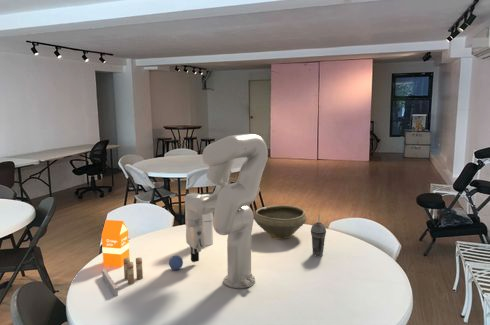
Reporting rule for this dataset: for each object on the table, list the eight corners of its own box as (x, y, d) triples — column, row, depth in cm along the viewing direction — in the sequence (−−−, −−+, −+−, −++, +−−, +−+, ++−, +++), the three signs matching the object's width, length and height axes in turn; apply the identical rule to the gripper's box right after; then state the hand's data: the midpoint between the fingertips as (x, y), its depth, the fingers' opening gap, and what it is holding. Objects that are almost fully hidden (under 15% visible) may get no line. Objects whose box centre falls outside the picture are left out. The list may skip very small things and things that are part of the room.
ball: (185, 270, 168) (184, 256, 167) (172, 273, 165) (171, 259, 164) (179, 265, 173) (179, 252, 172) (167, 268, 170) (166, 255, 169)
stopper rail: (117, 295, 146) (117, 288, 146) (114, 296, 146) (114, 288, 145) (105, 275, 163) (105, 268, 163) (102, 276, 162) (102, 269, 162)
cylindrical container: (212, 246, 196) (211, 197, 192) (198, 245, 196) (197, 197, 193) (213, 241, 203) (212, 194, 199) (200, 241, 203) (199, 194, 200)
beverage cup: (324, 251, 188) (325, 211, 185) (326, 257, 181) (327, 216, 178) (309, 251, 189) (310, 211, 186) (310, 257, 181) (311, 215, 178)
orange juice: (121, 267, 172) (118, 223, 168) (103, 265, 173) (100, 222, 170) (130, 260, 179) (127, 218, 176) (112, 258, 181) (110, 217, 178)
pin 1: (131, 278, 160) (130, 259, 159) (125, 280, 159) (124, 260, 158) (129, 276, 162) (128, 257, 161) (123, 277, 161) (122, 258, 160)
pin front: (143, 278, 160) (142, 258, 159) (137, 280, 159) (136, 260, 158) (141, 276, 162) (140, 256, 161) (135, 277, 161) (134, 258, 160)
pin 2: (135, 283, 156) (134, 263, 155) (128, 285, 155) (127, 264, 153) (133, 281, 158) (132, 261, 157) (127, 282, 157) (126, 262, 155)
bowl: (313, 233, 215) (314, 208, 213) (292, 249, 192) (293, 222, 190) (269, 224, 230) (269, 201, 228) (244, 237, 207) (244, 212, 205)
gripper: (209, 224, 166) (209, 265, 169) (194, 215, 179) (195, 253, 182) (193, 227, 163) (194, 269, 165) (179, 218, 175) (180, 257, 178)
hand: (194, 261), depth 174 cm, fingers closed
